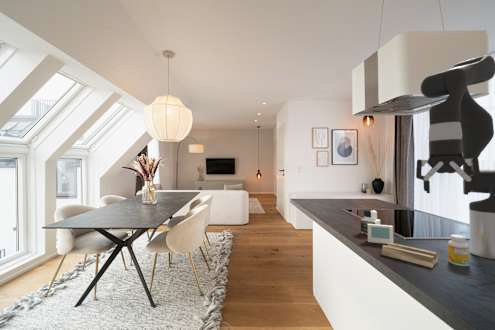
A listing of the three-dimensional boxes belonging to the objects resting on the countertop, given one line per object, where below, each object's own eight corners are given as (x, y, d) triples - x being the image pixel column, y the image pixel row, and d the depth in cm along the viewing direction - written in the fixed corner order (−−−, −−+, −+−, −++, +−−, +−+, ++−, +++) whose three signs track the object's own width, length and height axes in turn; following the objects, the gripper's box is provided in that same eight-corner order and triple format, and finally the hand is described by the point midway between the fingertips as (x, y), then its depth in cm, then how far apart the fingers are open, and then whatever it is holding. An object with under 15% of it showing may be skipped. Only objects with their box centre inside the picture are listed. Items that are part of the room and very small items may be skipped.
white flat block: (367, 240, 109) (367, 223, 109) (392, 243, 105) (392, 225, 105) (368, 242, 107) (367, 224, 107) (393, 244, 103) (393, 226, 103)
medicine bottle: (360, 233, 121) (360, 210, 121) (366, 230, 125) (366, 208, 126) (375, 236, 115) (374, 212, 115) (380, 233, 120) (380, 210, 120)
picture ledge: (389, 249, 97) (389, 241, 97) (437, 261, 84) (437, 252, 85) (381, 254, 92) (381, 246, 92) (432, 267, 79) (432, 258, 79)
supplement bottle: (448, 259, 86) (447, 233, 87) (468, 262, 83) (467, 235, 83) (448, 263, 82) (448, 236, 82) (469, 267, 79) (469, 239, 79)
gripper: (475, 138, 68) (476, 193, 68) (414, 141, 76) (416, 191, 76) (481, 135, 61) (483, 196, 61) (415, 140, 70) (416, 194, 70)
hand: (446, 193), depth 69 cm, fingers open, 8 cm apart
